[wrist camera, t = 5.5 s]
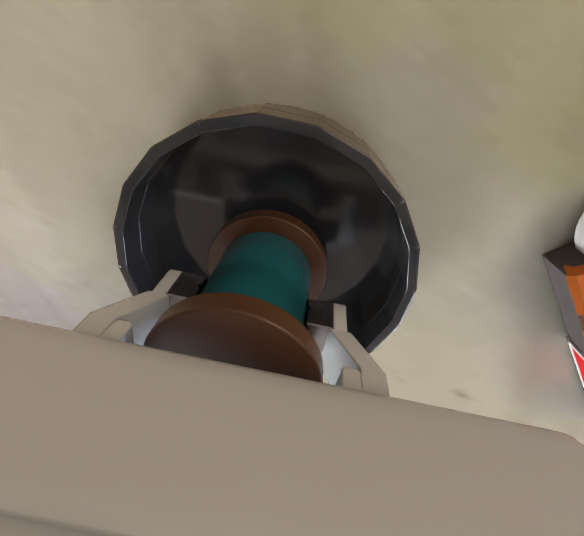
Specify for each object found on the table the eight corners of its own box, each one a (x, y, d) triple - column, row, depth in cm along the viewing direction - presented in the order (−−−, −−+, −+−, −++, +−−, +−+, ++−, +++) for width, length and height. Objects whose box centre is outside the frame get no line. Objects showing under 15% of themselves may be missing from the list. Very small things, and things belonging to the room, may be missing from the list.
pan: (359, 353, 20) (363, 398, 18) (156, 310, 20) (129, 349, 17) (450, 139, 13) (481, 160, 11) (140, 73, 13) (91, 76, 10)
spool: (313, 317, 17) (302, 448, 11) (210, 296, 17) (146, 415, 11) (339, 223, 14) (343, 333, 8) (214, 197, 14) (132, 289, 8)
